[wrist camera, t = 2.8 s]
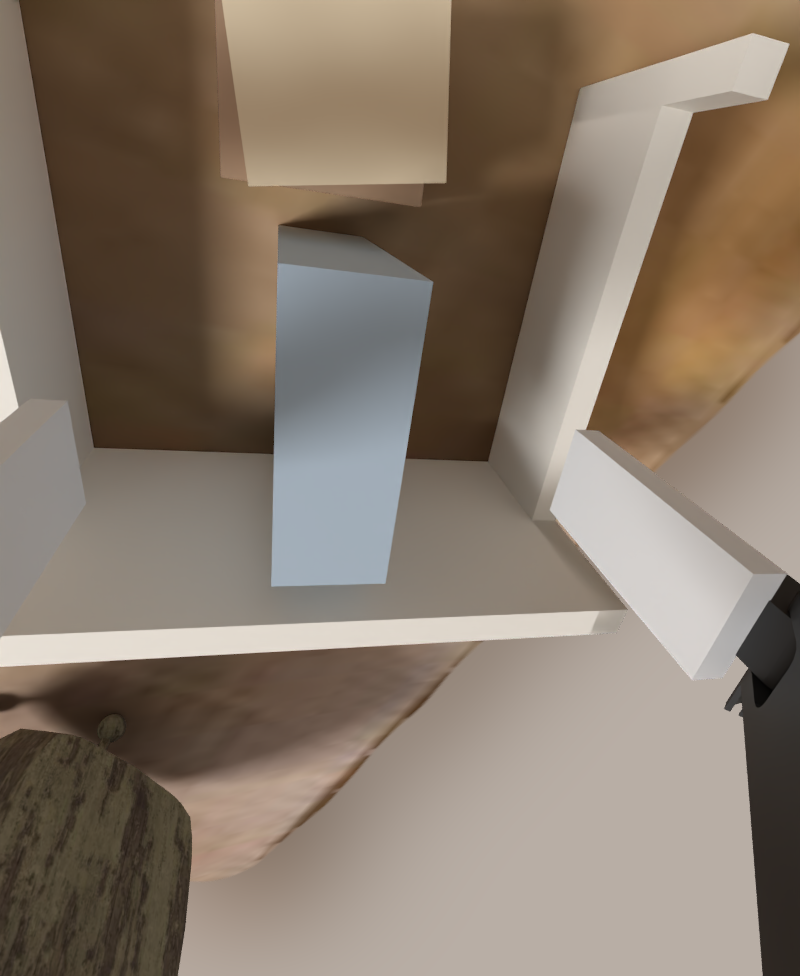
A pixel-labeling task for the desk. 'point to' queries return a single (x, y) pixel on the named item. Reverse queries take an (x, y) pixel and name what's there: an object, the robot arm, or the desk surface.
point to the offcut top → (341, 90)
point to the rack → (425, 483)
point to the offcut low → (233, 148)
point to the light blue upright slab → (341, 404)
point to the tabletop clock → (88, 860)
